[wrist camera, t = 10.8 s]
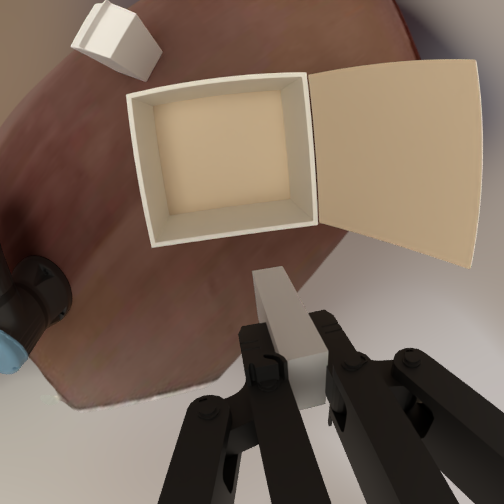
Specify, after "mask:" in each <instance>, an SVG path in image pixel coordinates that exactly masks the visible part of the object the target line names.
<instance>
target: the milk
mask: <svg viewBox="0 0 504 504" xmlns="http://www.w3.org/2000/svg"><path fill="white" fill-rule="evenodd" d="M71 47H72V48H74V49H76V50H78V51H80V52H81V53H83V54H85V55H87V56H89V57H91V58H93V59H95V60H97V61H99V62H100V63H102V64H104V65H106V66H108V67H110V68H111V69H113V70H115V71H117V72H119V73H122V74H125V75H128V76H131V77H133V78H136V79H139V80H142V81H144V82H147V80H148V78H149V76H150V74H151V73H152V71H153V69H154V67H155V65H156V63H157V62H158V60H159V58H160V56H161V55H162V53H163V51H162V50H161V49H160V47H159V46H158V44H157V43H156V41H155V40H154V38H153V37H152V36H151V34H150V33H149V31H148V30H147V28H146V27H145V26H144V24H143V23H142V21H141V20H140V19H139V17H138V16H137V14H136V13H134V12H131V11H129V10H127V9H124V8H122V7H119V6H117V5H114V4H112V3H110V1H109V0H105V1H104V2H103V3H100V4H95V5H94V7H93V8H92V10H91V11H90V13H89V15H88V16H87V18H86V20H85V21H84V23H83V25H82V26H81V28H80V30H79V32H78V33H77V35H76V37H75V39H74V41H73V43H72V44H71Z"/></svg>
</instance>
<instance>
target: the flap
mask: <svg viewBox="0 0 504 504" xmlns="http://www.w3.org/2000/svg"><path fill="white" fill-rule="evenodd" d="M308 76H309V85H310V94H311V104H312V114H313V125H314V137H315V150H316V164H317V181H318V200H319V222H320V223H323V224H327V225H330V226H334V227H337V228H341V229H344V230H348V231H351V232H355V233H358V234H362V235H365V236H368V237H372V238H375V239H378V240H382V241H385V242H388V243H392V244H395V245H397V246H401V247H404V248H407V249H410V250H413V251H417V252H420V253H423V254H426V255H429V256H432V257H435V258H438V259H441V260H444V261H447V262H450V263H453V264H456V265H459V266H462V267H465V268H467V269H470V268H471V265H472V260H473V255H474V249H475V243H476V236H477V229H478V221H479V212H480V201H481V188H482V168H483V129H482V109H481V96H480V86H479V77H478V70H477V63H476V60H469V59H446V60H445V59H444V60H417V61H402V62H391V63H381V64H372V65H364V66H357V67H350V68H344V69H338V70H332V71H326V72H321V73H316V74H311V75H308Z"/></svg>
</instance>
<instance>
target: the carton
mask: <svg viewBox="0 0 504 504" xmlns="http://www.w3.org/2000/svg"><path fill="white" fill-rule="evenodd" d="M126 98H127V107H128V115H129V123H130V131H131V138H132V145H133V152H134V158H135V164H136V171H137V176H138V182H139V188H140V193H141V198H142V204H143V209H144V214H145V219H146V223H147V228H148V233H149V237H150V242H151V246H152V248H154V247H160V246H167V245H174V244H181V243H187V242H194V241H201V240H208V239H215V238H223V237H230V236H237V235H244V234H252V233H259V232H266V231H274V230H282V229H289V228H297V227H305V226H313V225H318V214H317V193H316V175H315V160H314V146H313V134H312V122H311V111H310V101H309V92H308V83H307V74H306V72H295V73H268V74H253V75H241V76H231V77H221V78H213V79H206V80H199V81H192V82H186V83H180V84H174V85H169V86H163V87H158V88H153V89H149V90H144V91H140V92H135V93H131V94H127V95H126Z"/></svg>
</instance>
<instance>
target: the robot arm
mask: <svg viewBox="0 0 504 504" xmlns="http://www.w3.org/2000/svg"><path fill="white" fill-rule="evenodd" d="M252 274H253V282H254V290H255V297H256V305H257V313H258V319H259V322H260V323H258V324H253V325H247V326H242V327H241V330H240V332H239V334H238V336H239V342H240V347H241V353H242V358H243V364H244V370H245V376H246V382H245V385H244V386H243V388H242V389H241V390H240V391H239V392H238V393H236V394H234V395H232V396H230V397H228V398H225V399H223V398H221V397H220V396H214V395H206V396H202V397H200V398H197V399H195V400H194V401H193V402H192V403H191V404H190V405H189V407H188V409H187V412H186V415H185V418H184V421H183V424H182V427H181V431H180V434H179V437H178V440H177V443H176V446H175V450H174V452H173V456H172V459H171V462H170V465H169V468H168V472H167V475H166V478H165V481H164V485H163V488H162V491H161V494H160V497H159V501H158V504H234V499H235V493H236V486H237V480H238V473H239V467H240V460H241V454H242V452H243V451H245V450H247V449H249V448H252V447H254V446H256V445H258V444H259V447H260V452H261V457H262V461H263V466H264V471H265V475H266V480H267V485H268V489H269V494H270V498H271V502H272V504H331V501H330V498H329V495H328V493H327V489H326V487H325V484H324V481H323V478H322V475H321V472H320V469H319V467H318V464H317V461H316V458H315V455H314V452H313V449H312V446H311V444H310V441H309V438H308V435H307V432H306V429H305V426H304V423H303V420H302V417H301V414H300V411H299V410H303V409H307V408H311V407H315V406H319V405H323V404H325V401H326V397H327V399H328V401H329V403H330V407H329V418H328V425H329V426H331V425H332V421H333V423H334V426H335V428H336V430H337V433H338V435H339V438H340V440H341V442H342V445H343V447H344V450H345V452H346V454H347V457H348V459H349V462H350V464H351V466H352V469H353V471H354V474H355V476H356V478H357V481H358V483H359V486H360V488H361V491H362V493H363V495H364V498H365V500H366V503H367V504H459V503H458V501H457V499H456V497H455V496H454V494H453V492H452V490H451V489H450V487H449V485H448V483H447V482H446V480H445V478H444V477H443V475H442V473H443V474H445V476H447V477H448V478H449V479H450V480H451V481H452V482H453V483H454V484H455V485H456V486H457V487H458V488H459V489H460V490H461V491H462V492H463V493H464V494H465V495H466V496H467V497H468V498H469V499H470V500H472V501H473V502H474V503H475V504H504V413H503V412H502V411H501V410H499V409H498V408H497V407H495V406H494V405H493V404H492V403H490V402H489V401H487V400H486V399H485V398H484V397H482V396H481V395H480V394H478V393H477V392H476V391H475V390H473V389H472V388H471V387H470V386H468V385H467V384H465V383H464V382H462V380H460V379H459V378H458V377H456V376H455V375H454V374H452V373H451V372H449V371H448V370H447V369H446V368H444V367H443V366H442V365H440V364H439V363H438V362H437V361H435V360H434V359H433V358H431V357H430V356H428V355H427V354H426V353H424V352H423V351H421V350H419V349H414V348H405V349H402V350H400V351H398V352H397V353H396V354H395V356H394V360H384V361H374V360H371V359H370V358H369V357H368V356H367V355H366V354H363V353H361V352H357V351H356V350H355V348H354V346H353V345H352V343H351V342H350V340H349V339H348V337H347V336H346V334H345V332H344V331H343V330H342V328H341V326H340V325H339V324H338V322H337V320H336V319H335V317H334V316H333V315H332V314H331V313H329V312H327V311H326V310H321V311H316V312H312V313H308V312H307V310H306V308H305V307H304V305H303V303H302V301H301V299H300V297H299V296H298V294H297V292H296V290H295V288H294V286H293V285H292V283H291V281H290V279H289V277H288V275H287V274H286V272H285V270H284V268H283V266H279V267H273V268H267V269H261V270H255V271H252ZM71 303H72V293H71V289H70V285H69V283H68V281H67V279H66V277H65V275H64V274H63V272H62V271H61V270H60V269H59V268H58V267H57V266H56V265H55V264H54V263H53V262H51V261H50V260H48V259H46V258H44V257H41V256H29V257H26V258H25V259H23V260H22V261H21V262H20V263H18V264H17V266H16V267H15V268H14V270H13V273H12V275H11V273H10V270H9V267H8V265H7V262H6V259H5V256H4V254H3V251H2V248H1V245H0V373H2V374H13V373H15V372H17V371H18V370H19V369H20V368H21V366H22V365H23V364H24V362H26V361H27V359H28V356H29V354H30V353H31V351H32V350H33V348H34V347H35V345H36V343H37V342H38V340H39V339H40V337H41V336H42V334H43V333H44V331H45V330H46V329H47V328H48V327H50V326H52V325H54V324H55V323H57V322H59V321H61V320H62V319H63V318H64V317H65V315H66V314H67V312H68V311H69V309H70V307H71ZM441 472H442V473H441Z"/></svg>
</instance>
